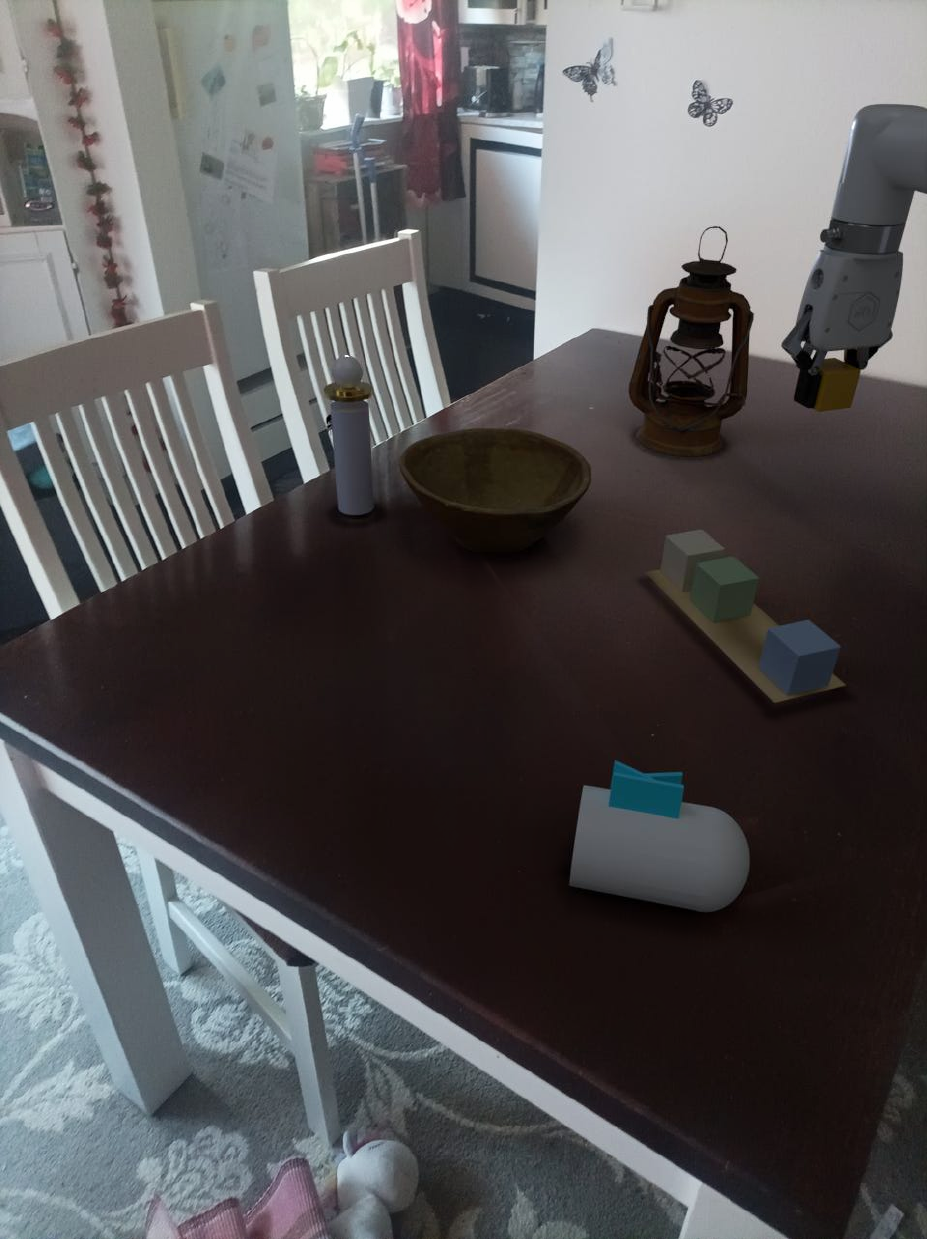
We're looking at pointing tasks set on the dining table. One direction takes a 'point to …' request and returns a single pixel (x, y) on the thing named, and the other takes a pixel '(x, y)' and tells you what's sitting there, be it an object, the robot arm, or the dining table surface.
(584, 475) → the bowl
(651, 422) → the lantern
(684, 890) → the grey rounded block
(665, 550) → the cream block
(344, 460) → the perfume bottle
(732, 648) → the board
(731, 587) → the sage block
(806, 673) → the blue block
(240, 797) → the dining table surface
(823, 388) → the mustard block
